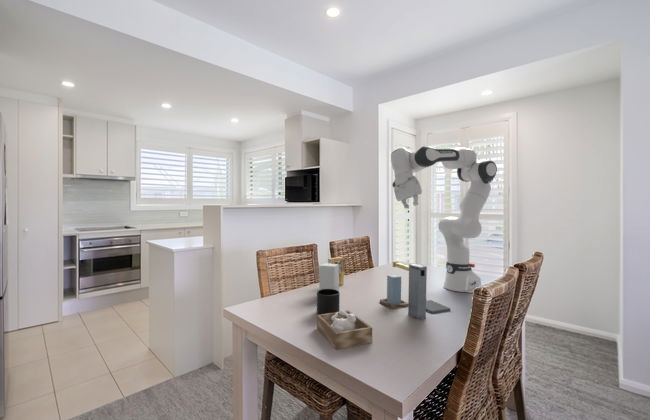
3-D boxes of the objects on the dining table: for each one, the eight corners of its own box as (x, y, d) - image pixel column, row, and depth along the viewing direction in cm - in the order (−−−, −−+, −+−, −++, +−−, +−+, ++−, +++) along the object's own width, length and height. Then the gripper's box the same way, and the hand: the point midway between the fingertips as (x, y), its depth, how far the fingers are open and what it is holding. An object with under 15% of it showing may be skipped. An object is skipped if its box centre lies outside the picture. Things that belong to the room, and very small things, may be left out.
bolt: (396, 266, 139) (396, 261, 139) (418, 273, 126) (418, 267, 126) (392, 266, 138) (392, 261, 138) (413, 274, 125) (413, 268, 125)
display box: (348, 323, 117) (349, 310, 117) (372, 342, 101) (372, 327, 101) (317, 328, 112) (317, 315, 112) (336, 349, 96) (336, 333, 96)
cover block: (394, 301, 142) (395, 274, 142) (400, 305, 138) (401, 276, 138) (386, 303, 141) (387, 275, 140) (392, 306, 137) (393, 277, 136)
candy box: (339, 283, 174) (339, 256, 174) (344, 284, 171) (344, 257, 171) (327, 285, 169) (327, 258, 168) (332, 287, 166) (332, 259, 165)
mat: (430, 302, 143) (430, 299, 143) (450, 310, 132) (450, 308, 132) (413, 304, 139) (413, 302, 139) (432, 313, 128) (432, 311, 128)
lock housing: (415, 313, 128) (416, 263, 128) (425, 318, 123) (426, 266, 122) (408, 314, 127) (409, 264, 126) (417, 319, 121) (418, 267, 121)
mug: (343, 309, 132) (343, 288, 132) (335, 319, 121) (335, 296, 121) (323, 306, 135) (323, 286, 135) (313, 315, 124) (313, 294, 124)
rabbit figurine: (362, 334, 108) (362, 307, 108) (359, 343, 101) (359, 314, 101) (329, 330, 111) (329, 304, 111) (324, 339, 104) (324, 311, 104)
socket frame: (396, 299, 146) (396, 297, 146) (409, 306, 137) (409, 303, 137) (379, 301, 142) (379, 299, 142) (391, 308, 133) (391, 306, 133)
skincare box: (339, 295, 152) (339, 264, 152) (333, 298, 146) (333, 266, 146) (324, 292, 156) (324, 262, 155) (318, 296, 150) (318, 264, 150)
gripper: (421, 173, 143) (428, 202, 141) (401, 183, 162) (407, 208, 161) (409, 175, 141) (416, 204, 140) (390, 185, 161) (396, 210, 160)
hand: (411, 206), depth 151 cm, fingers open, 8 cm apart
